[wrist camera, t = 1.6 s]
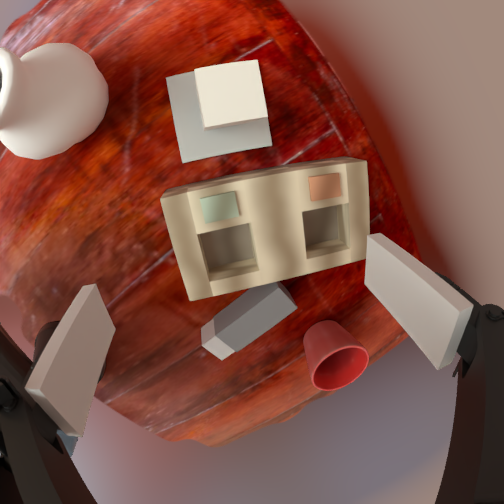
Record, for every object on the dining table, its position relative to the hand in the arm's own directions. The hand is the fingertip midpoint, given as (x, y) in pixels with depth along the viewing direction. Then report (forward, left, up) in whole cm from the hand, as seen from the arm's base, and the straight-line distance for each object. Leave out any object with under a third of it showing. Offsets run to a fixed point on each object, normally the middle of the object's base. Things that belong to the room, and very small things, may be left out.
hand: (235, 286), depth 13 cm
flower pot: (+14, -31, -27) cm, 44 cm away
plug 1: (+3, +10, -27) cm, 28 cm away
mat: (+3, +10, -27) cm, 29 cm away
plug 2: (+1, -21, -27) cm, 34 cm away
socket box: (+7, -6, -27) cm, 29 cm away
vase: (-17, +17, -27) cm, 36 cm away
